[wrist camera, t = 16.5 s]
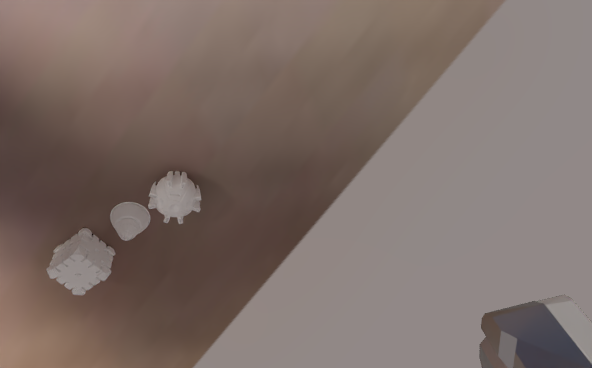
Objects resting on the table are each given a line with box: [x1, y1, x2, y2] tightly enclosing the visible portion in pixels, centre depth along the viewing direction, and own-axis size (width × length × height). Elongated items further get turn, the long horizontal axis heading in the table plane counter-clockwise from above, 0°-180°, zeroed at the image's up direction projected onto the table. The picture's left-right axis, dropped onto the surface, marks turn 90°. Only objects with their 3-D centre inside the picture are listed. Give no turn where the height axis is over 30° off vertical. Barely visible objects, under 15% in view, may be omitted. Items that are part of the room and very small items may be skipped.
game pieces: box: [46, 171, 202, 295], centre depth 37 cm, size 12×3×3 cm, turn 125°
